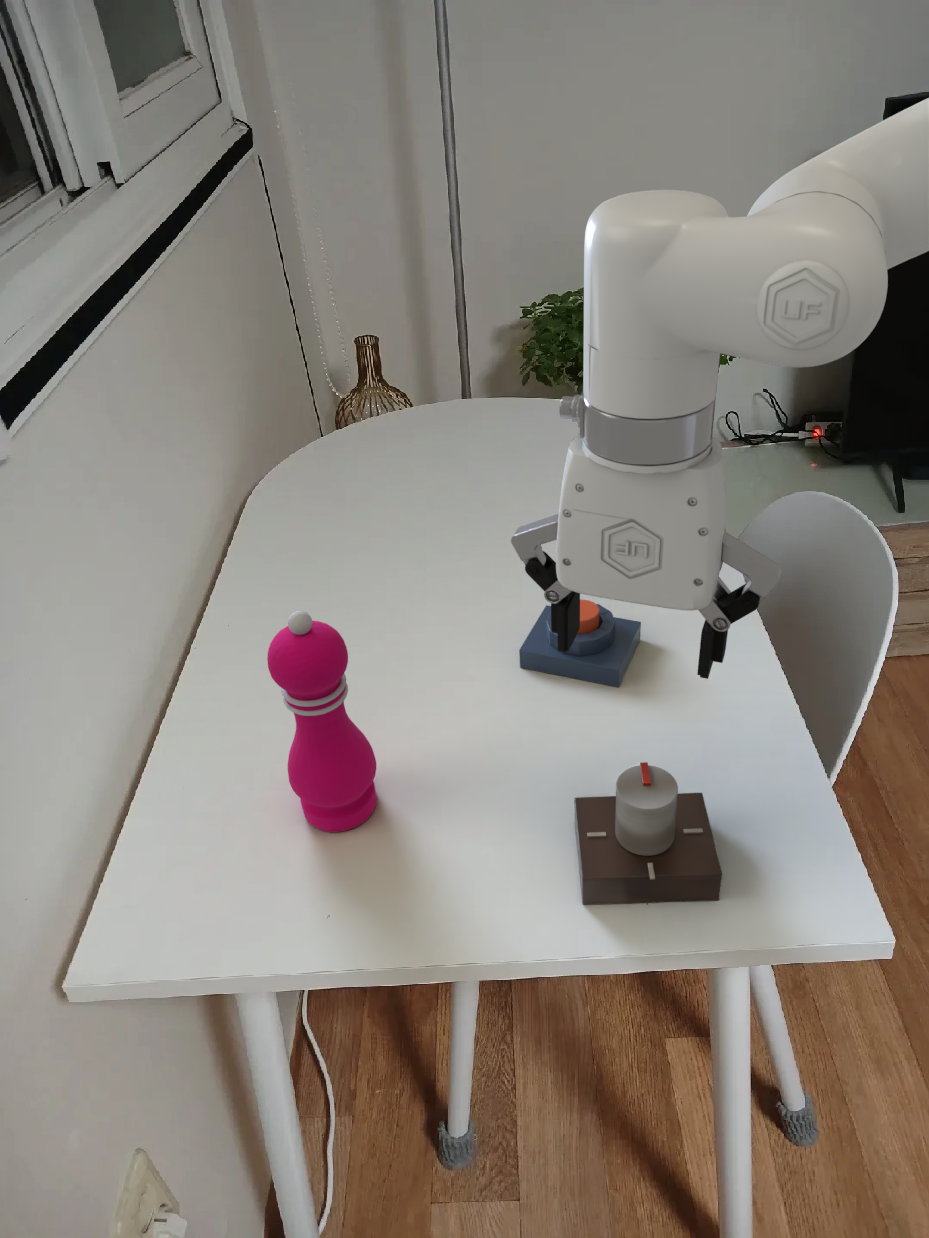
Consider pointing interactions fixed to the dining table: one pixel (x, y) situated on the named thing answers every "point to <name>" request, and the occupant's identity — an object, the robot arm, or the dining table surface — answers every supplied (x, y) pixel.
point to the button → (588, 617)
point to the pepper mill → (322, 726)
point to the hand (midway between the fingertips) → (636, 652)
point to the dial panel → (646, 857)
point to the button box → (583, 649)
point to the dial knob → (645, 809)
